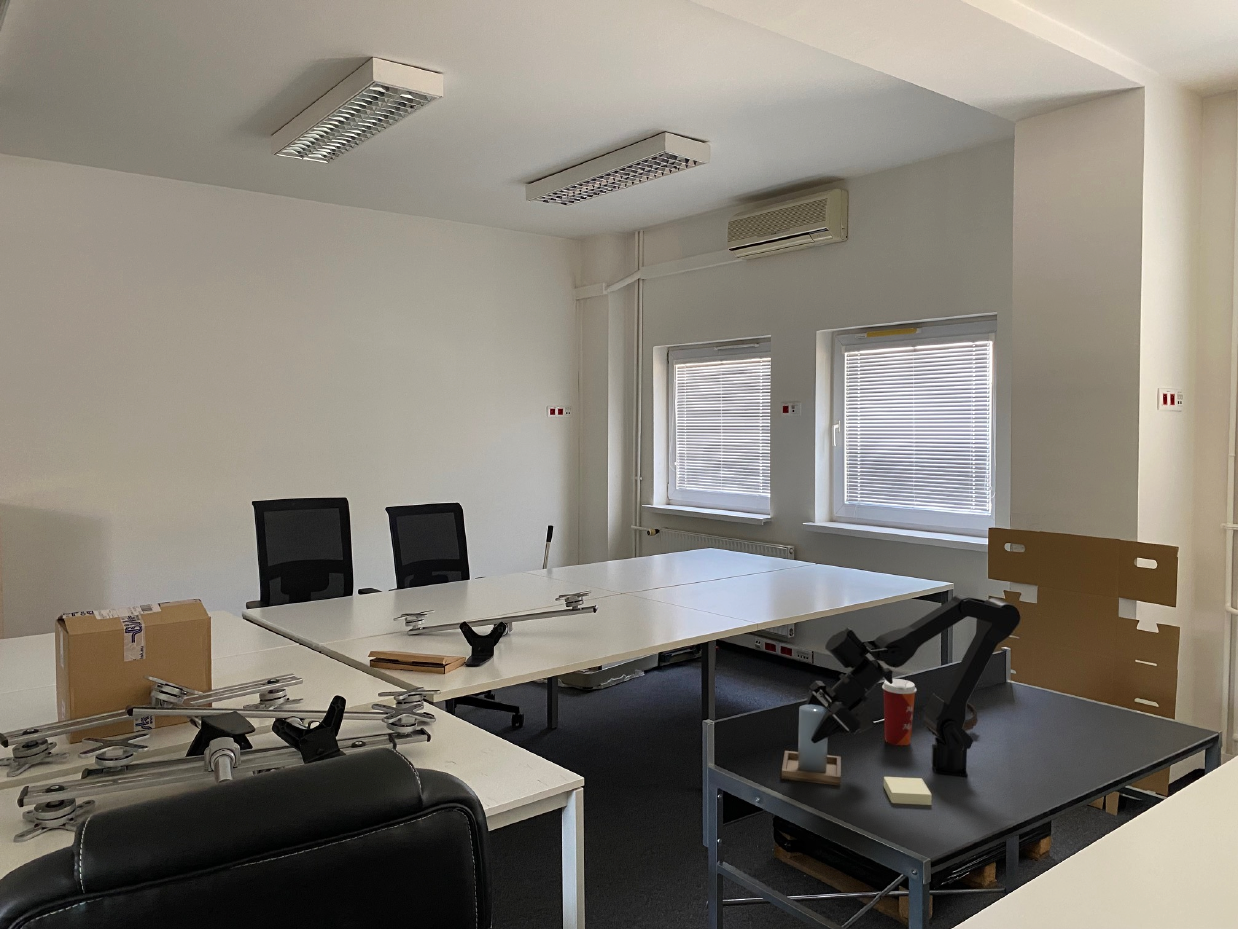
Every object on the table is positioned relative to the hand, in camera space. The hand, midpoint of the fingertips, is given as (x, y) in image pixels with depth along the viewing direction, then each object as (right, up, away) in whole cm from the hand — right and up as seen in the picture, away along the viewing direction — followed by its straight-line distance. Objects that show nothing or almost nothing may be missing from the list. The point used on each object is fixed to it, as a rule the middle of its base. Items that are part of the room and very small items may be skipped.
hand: (806, 733), depth 184 cm
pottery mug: (+42, -8, +28) cm, 51 cm away
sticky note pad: (+18, -10, -10) cm, 23 cm away
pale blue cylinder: (+1, -8, +1) cm, 8 cm away
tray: (+1, -8, +1) cm, 8 cm away
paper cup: (+26, -8, +19) cm, 33 cm away
